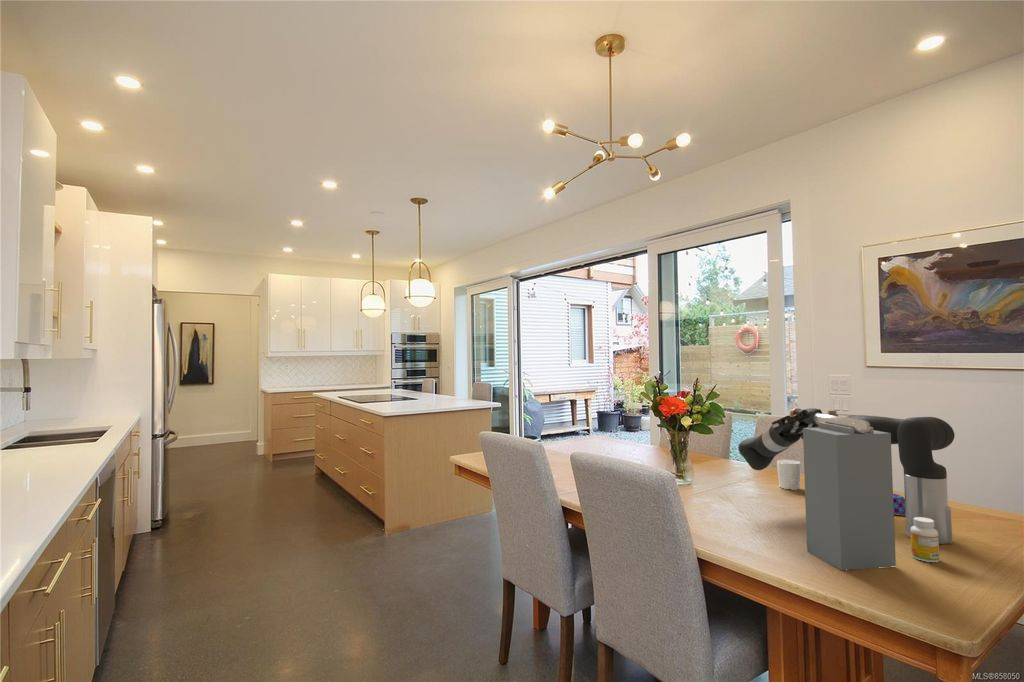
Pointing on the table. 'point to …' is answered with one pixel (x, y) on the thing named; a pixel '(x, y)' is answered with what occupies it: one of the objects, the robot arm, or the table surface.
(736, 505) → the table surface
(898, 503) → the pudding
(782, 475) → the white cup
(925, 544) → the supplement bottle
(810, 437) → the tall grey box
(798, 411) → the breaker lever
